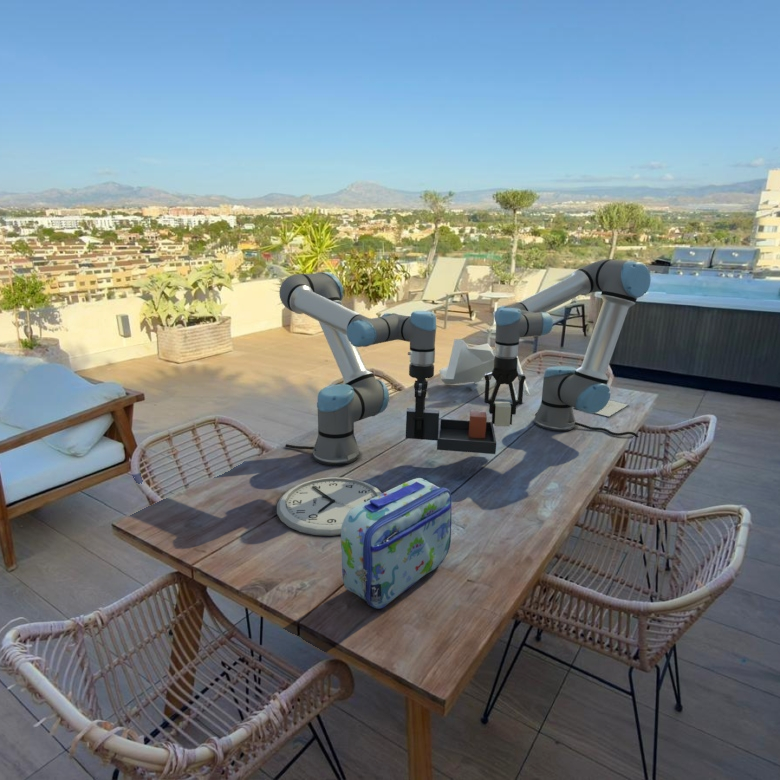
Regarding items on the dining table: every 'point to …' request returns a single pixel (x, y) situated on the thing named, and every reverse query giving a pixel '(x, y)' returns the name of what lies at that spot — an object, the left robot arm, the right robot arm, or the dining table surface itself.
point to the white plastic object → (472, 364)
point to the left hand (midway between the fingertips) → (419, 435)
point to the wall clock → (323, 504)
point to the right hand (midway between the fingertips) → (501, 422)
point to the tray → (451, 433)
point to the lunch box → (395, 540)
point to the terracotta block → (477, 424)
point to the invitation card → (611, 408)
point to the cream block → (502, 414)
